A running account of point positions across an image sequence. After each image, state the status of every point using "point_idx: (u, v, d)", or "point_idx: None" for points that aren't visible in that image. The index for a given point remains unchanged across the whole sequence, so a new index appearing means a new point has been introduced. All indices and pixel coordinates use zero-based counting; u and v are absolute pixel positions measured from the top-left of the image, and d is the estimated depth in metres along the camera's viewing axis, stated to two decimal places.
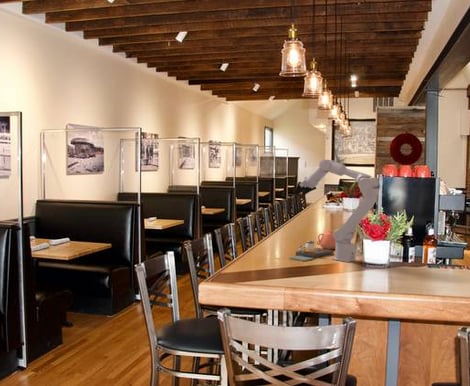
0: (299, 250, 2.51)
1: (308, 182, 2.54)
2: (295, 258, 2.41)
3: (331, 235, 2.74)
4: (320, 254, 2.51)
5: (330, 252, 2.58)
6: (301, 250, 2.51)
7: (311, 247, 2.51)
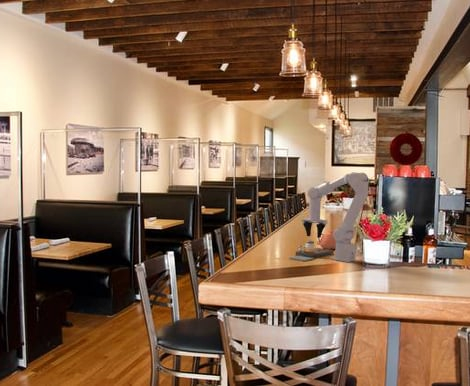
0: (299, 250, 2.51)
1: (319, 218, 2.53)
2: (295, 258, 2.41)
3: (331, 235, 2.74)
4: (320, 254, 2.51)
5: (330, 252, 2.58)
6: (301, 250, 2.51)
7: (311, 247, 2.51)
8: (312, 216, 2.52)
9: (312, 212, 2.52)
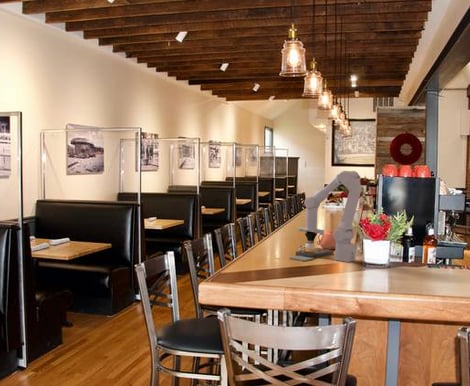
0: (299, 250, 2.51)
1: (316, 227, 2.54)
2: (295, 258, 2.41)
3: (331, 235, 2.74)
4: (320, 254, 2.51)
5: (330, 252, 2.58)
6: (301, 250, 2.51)
7: (311, 247, 2.51)
8: (309, 226, 2.54)
9: (309, 222, 2.54)
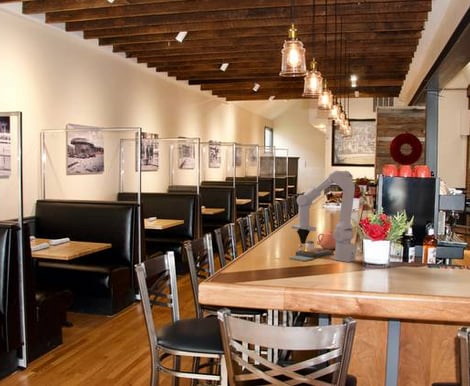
0: (300, 250, 2.51)
1: (308, 225, 2.58)
2: (295, 258, 2.41)
3: (331, 235, 2.74)
4: (320, 254, 2.51)
5: (330, 252, 2.58)
6: (301, 250, 2.52)
7: (311, 247, 2.51)
8: (301, 223, 2.57)
9: (301, 219, 2.57)
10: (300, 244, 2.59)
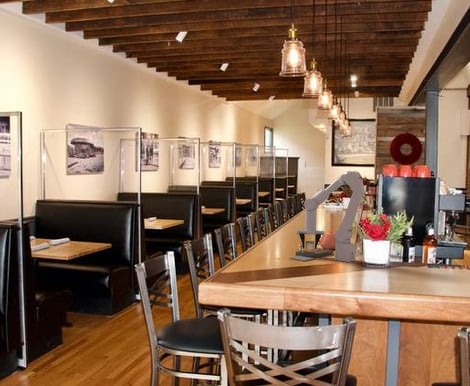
0: (300, 250, 2.51)
1: None
2: (295, 258, 2.41)
3: (331, 235, 2.74)
4: (320, 254, 2.51)
5: (330, 252, 2.58)
6: (301, 250, 2.52)
7: (311, 247, 2.51)
8: (312, 228, 2.49)
9: (312, 224, 2.49)
10: (299, 244, 2.59)
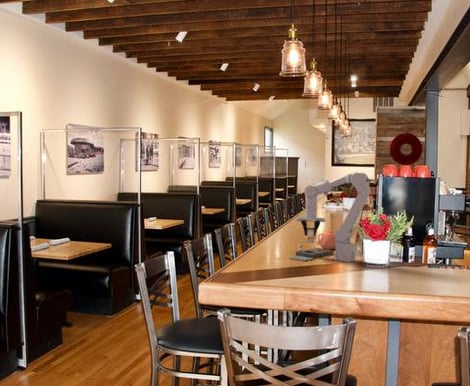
0: (300, 250, 2.51)
1: None
2: (295, 258, 2.41)
3: (331, 235, 2.74)
4: (320, 254, 2.51)
5: (330, 252, 2.58)
6: (301, 250, 2.52)
7: (312, 233, 2.50)
8: (312, 215, 2.49)
9: (312, 211, 2.49)
10: (299, 244, 2.59)
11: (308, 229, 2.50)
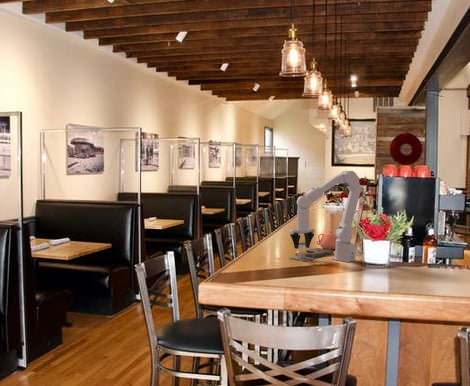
0: None
1: None
2: (295, 258, 2.41)
3: (331, 235, 2.74)
4: (320, 254, 2.51)
5: (330, 252, 2.58)
6: None
7: (304, 249, 2.41)
8: (307, 226, 2.40)
9: (307, 222, 2.40)
10: None
11: (301, 244, 2.40)
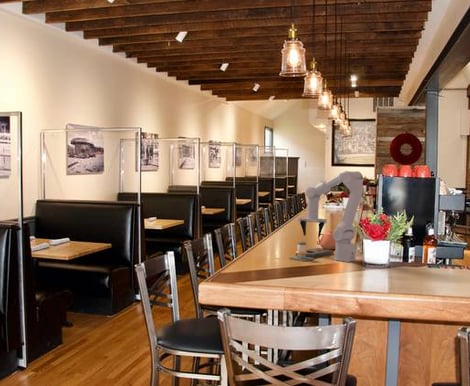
0: None
1: None
2: (295, 258, 2.41)
3: (331, 235, 2.74)
4: (320, 254, 2.51)
5: (330, 252, 2.58)
6: None
7: (304, 249, 2.41)
8: (312, 215, 2.55)
9: (312, 212, 2.55)
10: None
11: (301, 244, 2.40)
